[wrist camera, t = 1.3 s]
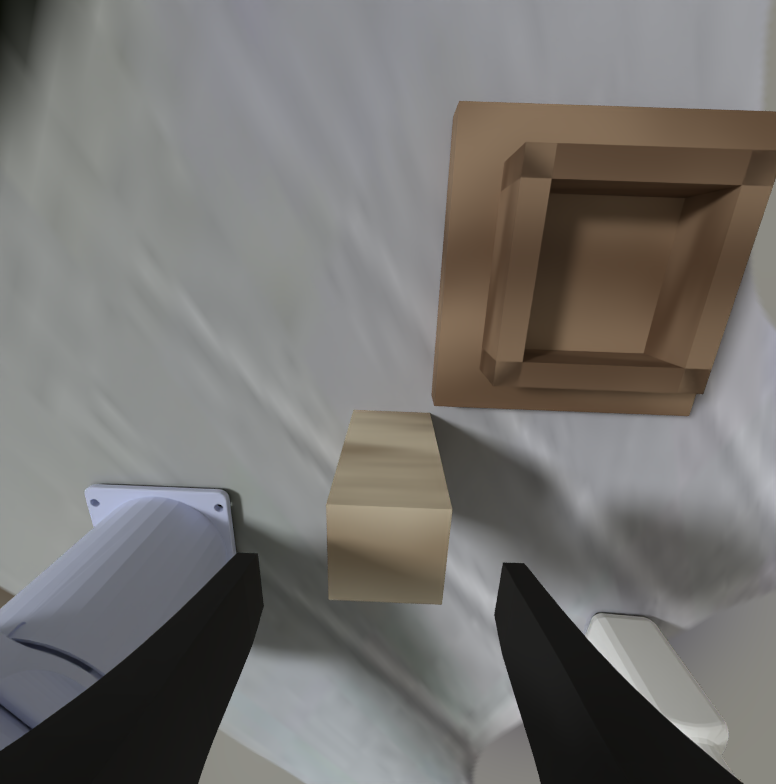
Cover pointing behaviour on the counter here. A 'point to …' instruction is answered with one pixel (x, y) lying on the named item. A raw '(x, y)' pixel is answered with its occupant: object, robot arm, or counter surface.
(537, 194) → the peg holder
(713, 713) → the salt shaker
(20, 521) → the counter surface
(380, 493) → the birch peg
